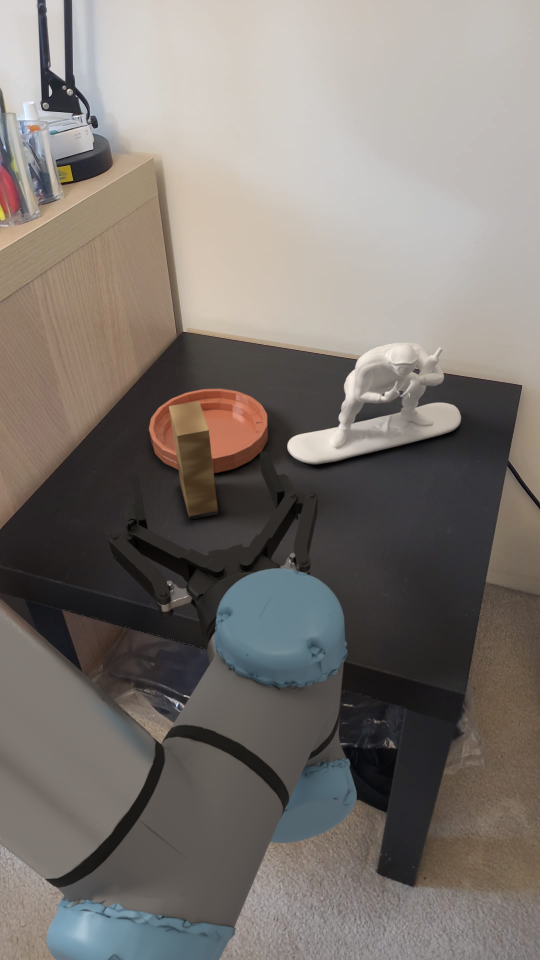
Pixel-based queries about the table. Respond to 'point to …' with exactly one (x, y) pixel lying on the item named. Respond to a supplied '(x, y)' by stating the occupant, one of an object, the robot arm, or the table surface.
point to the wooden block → (194, 459)
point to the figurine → (366, 384)
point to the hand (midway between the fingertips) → (200, 473)
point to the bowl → (216, 427)
